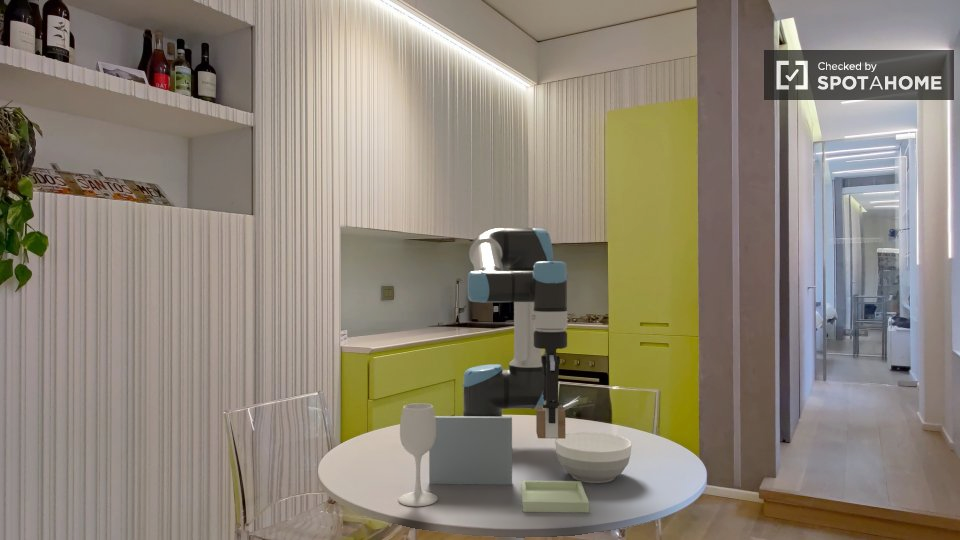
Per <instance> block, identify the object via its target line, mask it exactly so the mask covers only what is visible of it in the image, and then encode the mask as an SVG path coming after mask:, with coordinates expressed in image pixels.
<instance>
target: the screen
mask: <svg viewBox="0 0 960 540" xmlns="http://www.w3.org/2000/svg"><path fill="white" fill-rule="evenodd" d="M435 419H436V439H435V443H434V445H433V446H432V448H431V449H430V450H429V451H428V452H429V453H428V454H429V456H428V461H429V462H428V463H429V465H428V470H429V471H428V477H429V478H428V479H429V480H428V481H429V485H498V486H499V485H505V486H507V485H508V486H512V485H513V417H512V416H502V417H494V416H463V415H460V416H459V415H458V416H457V415H453V416H452V415H444V416H443V415H442V416H441V415H435Z"/></svg>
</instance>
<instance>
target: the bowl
mask: <svg viewBox="0 0 960 540" xmlns="http://www.w3.org/2000/svg"><path fill="white" fill-rule="evenodd" d="M554 443H555V444H554V445H555V452H556V456H557V459H558V462H559V464H560V465H561V467H562V468H563V470H564V471H566V472H567V473H568V474H570V476H571V477H572V478H573V479H575V481H581V483H582V482H583V483H589V484H602V483H603V484H604V483H605V484H606V483H609V482H612V481H614V480H615V479H616V477H618V476H619V475H621V474H622V473H624V470H625V469H626V468H627V467H628V465H629V462H630V460H631V459H630V458H631V455H632V441H630V440H629V439H627V438H626V437H623V436H620V435H615V434H612V433H604V432H594V431H593V432H592V431H591V432H588V431H585V432H584V431H579V432H573V433H572V432H570V433H565V438H555V442H554Z"/></svg>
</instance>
